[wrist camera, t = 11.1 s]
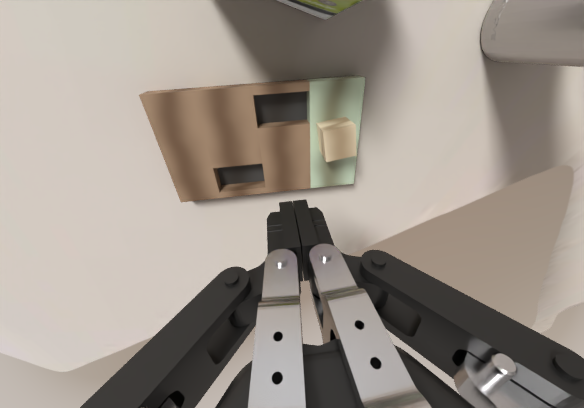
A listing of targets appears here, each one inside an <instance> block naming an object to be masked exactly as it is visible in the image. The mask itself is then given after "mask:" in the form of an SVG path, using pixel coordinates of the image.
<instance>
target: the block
mask: <svg viewBox="0 0 584 408" xmlns="http://www.w3.org/2000/svg"><path fill="white" fill-rule="evenodd" d="M316 125H317V133H318V141H319V150H320V152H321V154H322V156H323V157H324V159H325V161H326V162H330V161H334V160H339V159H343V158H348V157H352V156H357V154H356V125H355V124H354V123H353V122H352V121H350V120H349V119H348V118H347V117H341V118H336V119H332V120H328V121H323V122H319V123H316Z"/></svg>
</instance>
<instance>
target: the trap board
mask: <svg viewBox="0 0 584 408" xmlns="http://www.w3.org/2000/svg"><path fill="white" fill-rule="evenodd" d="M364 86H365V77H362V76H345V77H332V78H319V79H306V80H293V81H280V82H266V83H253V84H240V85H227V86H214V87H200V88H187V89H174V90H161V91H148V92H145V93H143V94H140V95H139V96H140V99H141V101H142V104H143V106H144V109H145V111H146V114H147V116H148V119H149V122H150V124H151V127H152V129H153V132H154V134H155V137H156V139H157V142H158V145H159V147H160V150H161V152H162V155H163V157H164V160H165V162H166V165H167V168H168V170H169V173H170V175H171V178H172V180H173V183H174V186H175V188H176V191H177V193H178V196H179V198H180V201H181V202H188V201H197V200H206V199H215V198H225V197H234V196H243V195H252V194H262V193H271V192H280V191H289V190H299V189H308V188H317V187H326V186H336V185H345V184H354V177H355V168H356V159H357V156H352V157H348V158H343V159H339V160H334V161H330V162H326V161H325V159H324V157H323V156H322V154H321V152H320V150H319V141H318V133H317V125H316V123H319V122H323V121H328V120H332V119H336V118H341V117H347V118H348V119H349V120H350V121H352V122H353V123H354V124H355V125H356V154H357V150H358V141H359V131H360V122H361V113H362V104H363V95H364Z"/></svg>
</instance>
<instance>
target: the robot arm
mask: <svg viewBox="0 0 584 408" xmlns="http://www.w3.org/2000/svg"><path fill="white" fill-rule="evenodd" d="M481 45H482V49H483V51H484V53H485V55H486V56H487V57H488V58H489V59H491V60H493V61H498V62H513V63H526V64H543V65H560V66H577V67H584V0H494V1H493V3H492V4H491V6H490V8H489V10H488V12H487V14H486V17H485V19H484V22H483V26H482V31H481ZM279 206H280V212H272V213H270V215H269V216H268V218H267V240H268V255H267V257H266V259H265V261H264V262H263V263H262V264H261V265H260V266H258V267H256V268H254V269H252V270H249V271H246V270H245V269H244V268H241V267H231V268H227V269H225V270H224V271H222V272H221V273H220V274H219V275H218V276H217V277H216V278H215V279H213V280H212V281H211V282H210V283H209V284H208V285H207V286H206V287H205V288H204V289H203V290H202V291H201V292H200V293H199V294H198V295H197V296H196V297H195V298H194V299H193V300H192V301H191V302H190V303H188V304H187V305H186V306H185V307H184V308H183V309H182V310H181V311H180V312H179V313H178V314H177V315H176V316H175V317H174V318H173V319H172V320H171V321H170V322H169V323H168V324H167V325H166V326H164V327H163V328H162V329H161V330H160V331H159V332H158V333H157V334H156V335H155V336H154V337H153V338H152V339H151V340H150V341H149V342H148V343H147V344H146V345H145V346H144V347H143V348H142V349H141V350H140V351H139V352H137V353H136V354H135V355H134V356H133V357H132V358H131V359H130V360H129V361H128V362H127V363H126V364H125V365H124V366H123V367H122V368H121V369H120V370H119V371H118V372H117V373H116V374H115V375H114V376H113V377H111V378H110V379H109V380H108V381H107V382H106V383H105V384H104V385H103V386H102V387H101V388H100V389H99V390H98V391H97V392H96V393H95V394H94V395H93V396H92V397H91V398H89V399H88V400H87V401H86V403H84V404H83V405H82V406H81V407H80V408H195V407H196V405H197V404H198V403H199V401H200V400H201V399H202V397H203V396H204V394H205V393H206V392H207V390H208V389H209V388H210V386H211V385H212V383H213V382H214V381H215V380H216V378H217V377H218V376H219V374H220V373H221V371H222V370H223V369H224V367H225V366H226V365H227V363H228V362H229V361H230V359H231V358H232V356H233V355H234V353H236V351H237V350H238V348H239V347H240V345H241V344H242V343H243V342H244V340H245V339H246V337H247V336H248V335H249V334H250V332H251V331H252V329H253V328H254V327H255V325H256V330H255V341H254V351H253V360H252V361H251V362H250V363H248V364H247V365H246V366H245V367H244V368H243V369H242V370H241V371H240V372H239V373H238V374H237V376H236V377H235V378H234V380H233V381H232V383H231V384H230V386H229V387H228V389H227V390H226V392H225V393H224V395H223V396H222V398H221V400H220V401H219V403H218V404H217V406H216V407H215V408H584V359H583V358H582V357H581V356H579V355H578V354H576V353H575V352H573V351H571V350H570V349H568V348H566V347H564V346H562V345H560V344H558V343H556V342H555V341H553V340H550V339H549V338H547V337H545V336H543V335H541V334H539V333H538V332H536V331H534V330H532V329H530V328H528V327H526V326H524V325H522V324H520V323H519V322H517V321H515V320H513V319H511V318H509V317H507V316H505V315H503V314H501V313H500V312H497V311H496V310H494V309H492V308H490V307H488V306H486V305H484V304H482V303H480V302H479V301H477V300H475V299H473V298H471V297H469V296H467V295H465V294H464V293H462V292H460V291H458V290H456V289H454V288H452V287H450V286H448V285H446V284H445V283H442V282H441V281H439V280H437V279H435V278H433V277H431V276H429V275H428V274H426V273H424V272H422V271H420V270H418V269H416V268H414V267H412V266H411V265H408V264H407V263H405V262H403V261H401V260H399V259H397V258H395V257H393V256H392V255H389V254H388V253H386V252H383V251H379V250H370V251H367V252H365V253H364V254H363V255H362V257H355V256H349V255H346V254H343V253H341V252H340V251H339V249H338V248H337V247H335V246H334V243H333V241H332V238H331V235H330V232H329V230H328V227H327V224H326V221H325V219H324V216H323V213H322V212H321V211H320V210H319V209H318V208H317V207H315V208H308V204H307V201H306V200H297V201H293V203H292V201H289V202H280V203H279ZM302 271H303V274H302ZM303 276H304V280H305V281H307V280H309V282H310V288H311V298H312V301H313V305H314V308H315V312H316V315H317V319H318V322H319V326H320V330H321V333H322V339H323V345H321V346H315V345H307V344H303V338H302V323H301V308H300V307H301V306H300V293H301V287H300V281H303ZM385 328H386V329H387V330H388V331H390V332H391V333H392V334H394V335H395V336H396V337H398V338H399V339H400V340H402V341H403V342H404V343H406V344H407V345H408V346H410V347H411V348H413V349H414V350H415V351H417V352H418V353H419V354H421V355H422V356H423V357H425V358H426V359H427V360H429V361H430V362H431V363H433V364H434V365H435V366H437V367H438V368H439V369H441V370H442V371H444V372H445V373H446V374H448V375H449V376H450V377H452V378H453V379H454V382H455V386H456V388H457V390H458V392H459V394H460V395H459V394H458V393H457V392H456V391H454V390H453V389H452V388H451V387H449V386H448V385H447V384H445V383H444V382H443V381H442V380H441V379H439V378H438V377H437V376H436V375H434V374H433V373H432V372H431V371H429V370H428V369H427V368H426V367H425V366H423V365H422V364H421V363H419V362H418V361H417V360H416V359H415V358H413V357H412V356H411V355H409V354H408V353H407V352H405V351H404V350H402V349H401V348H399V347H397V346H395V345H394V344H393V342H392V340H391V338H390V337H389V335H388V333H387V331H386V329H385Z"/></svg>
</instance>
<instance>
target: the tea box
mask: <svg viewBox="0 0 584 408" xmlns="http://www.w3.org/2000/svg"><path fill="white" fill-rule="evenodd" d="M276 1H279V2H281V3H284V4H286V5H289V6H291V7H294V8H296V9H299V10H301V11H304V12H306V13H309V14H311V15H314V16H316V17H319V18H322V19H325V20H326V19H329V18H331V17H333V16H334V15H336V14H338V13H340V12H342V11H344V10H346V9H348V8H350V7H351V6H353V5H355V4H357V3H359V2H360V1H362V0H276Z"/></svg>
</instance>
